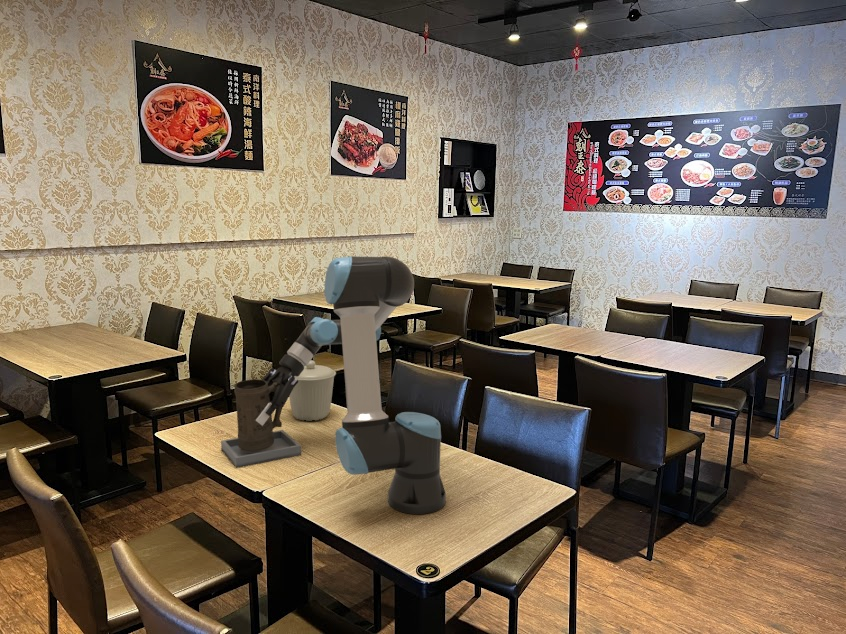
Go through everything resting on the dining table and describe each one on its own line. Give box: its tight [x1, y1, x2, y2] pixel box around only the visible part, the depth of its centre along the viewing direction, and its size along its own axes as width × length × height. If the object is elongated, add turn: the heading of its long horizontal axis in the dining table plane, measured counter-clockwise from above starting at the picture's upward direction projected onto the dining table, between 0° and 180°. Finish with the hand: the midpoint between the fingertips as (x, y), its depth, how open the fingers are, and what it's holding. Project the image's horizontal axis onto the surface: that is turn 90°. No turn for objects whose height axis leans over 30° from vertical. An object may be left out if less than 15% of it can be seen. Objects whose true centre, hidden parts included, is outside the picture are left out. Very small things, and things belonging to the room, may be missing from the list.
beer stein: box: [233, 378, 284, 451], centre depth 193 cm, size 15×11×20 cm
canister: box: [288, 359, 337, 422], centre depth 227 cm, size 18×18×21 cm
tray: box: [220, 429, 302, 469], centre depth 194 cm, size 16×20×3 cm
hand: (250, 418), depth 191 cm, fingers closed on beer stein, 9 cm apart
